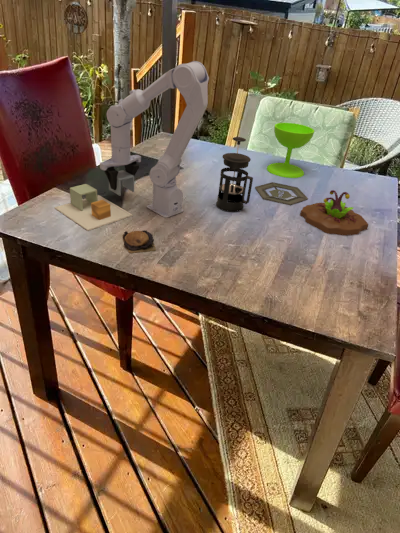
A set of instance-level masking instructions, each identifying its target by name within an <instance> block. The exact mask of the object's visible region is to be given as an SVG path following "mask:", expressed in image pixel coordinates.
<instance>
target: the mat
mask: <svg viewBox="0 0 400 533" xmlns="http://www.w3.org/2000/svg"><path fill="white" fill-rule="evenodd" d="M97 198H98V201H100V200H104V201H105V202H107V203H109V204H110V210H111V216H110V217H107V218H104V219H101V220H99V219H97V218H96V217H94V216H92V210H91V203H90V202H88V201H87V200H86V198H84V199H83V198H82V203H83V211H81V210H79V209H78V208H76V207H75V206H73V205H72V204H71V202H69V203H65V204H62V205H58V206H55V207H54V210H56V211H58V212H59V213H61V214H62V215H64V216H65V217H67V218H68V219H69V220H71V221H72V222H74V223H75V224H76V225H78V226H80V227H81V228H83V229H84V230H86V231H87V232H89V231H92V230H96V229H98V228H100V227H104V226H107V225H110V224H112V223H115V222H118V221H121V220H125V219H128V218H130V217H133V214H132V213H131V212H129V211H127V210H125V209H123V208H122V207H120V206H119V205H117V204H115V203H113V202H112V201H110V200H108V199H107V198H104V197H103V196H101V195H99V194H97Z"/></svg>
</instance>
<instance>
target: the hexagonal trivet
mask: <svg viewBox="0 0 400 533" xmlns="http://www.w3.org/2000/svg"><path fill="white" fill-rule="evenodd" d="M272 188H274V189H272ZM254 189H255V191H256V192H257V194H258V195H259V196H260V197H261V199H262V200H263V201H269V202H273V203H278V204H282V205H286V206H293V205H297V204H299V203H303V202H306V201H308V199H309V198H308V196H307V195H306V194H305V193H304V192H303V191H302V190H301V189H300V188H299V187H297V186H293V185H287V184H284V183H283V184H282V183H278V182H275V181H274V182H272V181H271V182H268V183H264V184H262V185H261V184H260V185H258V186H255V187H254ZM269 189H272V190H269ZM266 190H269V191H268V192H269V193H270V195H269V193H268V192H267V191H266ZM287 190H288V191H287ZM290 191H291V192H293V193H294V195H292V194H291V193H290Z"/></svg>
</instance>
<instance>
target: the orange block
mask: <svg viewBox="0 0 400 533" xmlns="http://www.w3.org/2000/svg"><path fill="white" fill-rule="evenodd" d="M91 210H92V216H94V217H96V218H97V219H99V220H101V219H104V218H107V217H110V216H111V210H110V204H109V203H107V202H105V201H104V200H100V201H96V202H93V203H91Z"/></svg>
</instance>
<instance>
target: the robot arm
mask: <svg viewBox="0 0 400 533" xmlns="http://www.w3.org/2000/svg"><path fill="white" fill-rule="evenodd" d="M209 81H210V77H209V74H208V71H207V69H206V67H205V66H204V64H203V63H202V62H201V61H197V60H192V61H190V62H188V63H180V64H178V65H177V66H175V67H174V68H173V67H172V69H169V70H168V71H166V72H165V73H163V74H162V75H161V76H160V77H158V78H157V79H156V80H155V81H153V82H152V83H151V84H150V85H148V86H147V87H146V88H144V89H143V90H142V89H139V88H137V89H130V90H129V93H128V94H129V95H128V96H126V97H125V98H124V99H123V98H120V99H119V100H118V104H115V105H111V106H109V107H108V109H107V111H106V118H107V121H108V123H109V125H110V141H111V142H110V143H111V147H110V148H111V157H110V158H109V159H106V160H104V161H102V162H99V169H100V170H101V171H103V172H104V174H105V175H106V178H107V180H109V181H108V184H109V183H110V187H111V189H113V190H116V188H117V175H118V171H119V170H116V168H117V167H122V166H124V171H126V172H128V173H129V174H131V175H133V176H134V177H135V176H136V174H137V172H138V170H139V169H140V164H139V163H141V162H142V156H141V155H139V154H133V155H131V124H132V121H133V120H134V119H135V118H136V117H138V116H139V115H140V114H142V113H144V111H146V110H147V109H149V108H150V105H151V101H152V100H153V99H155V98H156V97H158V96H160V95H161V94H163V93H164V92H167V90H169V89H177V90H178V92H179V93H180V94H181V95H182V98H183V99H184V101H185V104H186V106H185V108H184V109H183V110H184V111H183V112H182V114H181V117H180V119H179V121H178V123H177V126H176V127H175V129H174V132H173V134H172V136H171V138H170V140H169V142H168V144H167V147H166V149H165V151H164V153H163V154H162V156H161V157H159V159H158V161H157V163H156V164H155V165H154V166H153V167H151V169H149V170H150V171H149V175H148V176H149V178H150V181H151V183H152V203H151V204H148V205H146V208H147V209H149V210H150V211H153V212H154V213H156V214H158V215H159V216H162V217H163V218H169V217H173V216H175V215H177V214H181V213H183V212H184V211H185V210H184V209H183V198H184V197H183V196H184V195H183V191H182V190H181V189H180V188H179V187H178V185H177V177H178V176H179V174H180V172H181V168H180V167H181V164H182V161H183V160H182V157H183V155H184V153H185V151H186V149H187V147H188V145H189V143H190V141H191V140H192V138H193V135H194V134H195V131H196V129H197V127H198V125H199V124H200V121H201V120H202V117H203V115H204V114H205V112H206V109H207V108H208V104H209V103H208V102H209V101H208V100H209V97H208V95H209V94H208V92H209V91H208V87H209V86H208V85H209V84H208V83H209Z"/></svg>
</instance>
